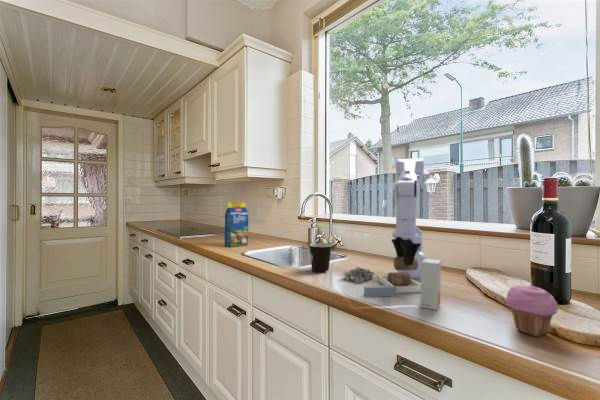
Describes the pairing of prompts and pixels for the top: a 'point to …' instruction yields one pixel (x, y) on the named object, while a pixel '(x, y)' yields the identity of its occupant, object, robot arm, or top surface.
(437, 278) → the skincare box
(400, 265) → the loose roller
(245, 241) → the blue food package
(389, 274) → the racked roller
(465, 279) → the top surface
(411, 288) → the white shallow tray
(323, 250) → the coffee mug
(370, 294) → the block
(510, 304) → the cupcake
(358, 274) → the gravel pile
